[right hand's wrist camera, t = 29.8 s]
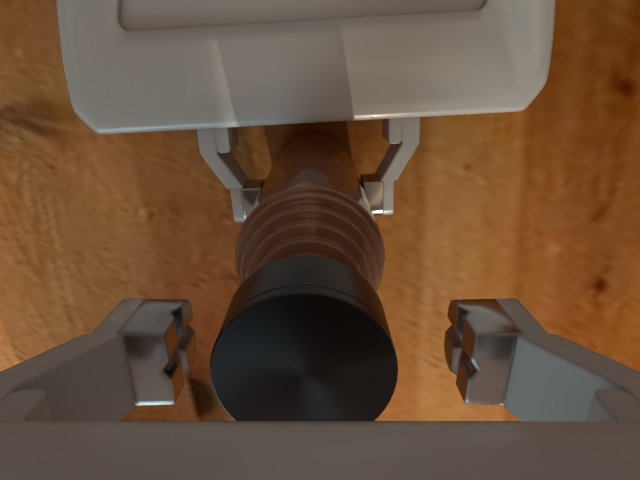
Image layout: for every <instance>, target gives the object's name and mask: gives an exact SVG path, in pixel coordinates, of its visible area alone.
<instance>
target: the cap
mask: <svg viewBox="0 0 640 480" xmlns="http://www.w3.org/2000/svg"><path fill="white" fill-rule="evenodd" d="M210 375H211V381H212V385H213V389H214V392H215V394H216V396H217V398H218V400H219V402H220V403H221V405H222V407H223V408H224V409H225V411H226V412H227V413H228V414H229V415H230V416H231V417H232V418H233V419H234V420H235V421H374V420H375V419H377V418H378V417H379V415H380V414H381V413H382V412H383V411H384V409H385V408H386V406H387V405H388V403H389V401H390V400H391V397H392V395H393V393H394V390H395V386H396V382H397V375H398V364H397V357H396V353H395V349H394V345H393V342H392V338H391V334H390V331H389V327H388V324H387V320H386V317H385V313H384V309H383V306H382V304H381V301H380V299H379V297H378V295H377V293H376V292H375V290H374V289H373V287H372V286H371V285H370V284H369V282H368V281H367V280H366V279H364V278H363V277H362V276H361V275H360V274H359V273H357V272H356V271H354V270H353V269H351V268H349V267H348V266H346V265H344V264H342V263H339V262H336V261H334V260H330V259H326V258H322V257H314V256H297V257H289V258H285V259H281V260H277V261H275V262H272V263H269V264H267V265H265V266H264V267H262V268H260V269H258V270H257V271H256V272H254V273H253V274H251V275H250V276H249V277H248V278H247V279H246V280H245V281H244V282H243V283H242V284H241V286H240V287H239V288H238V290H237V291H236V293H235V295H234V297H233V299H232V301H231V304H230V306H229V309H228V311H227V314H226V317H225V319H224V322H223V324H222V327H221V329H220V332H219V334H218V337H217V340H216V342H215V345H214V347H213V350H212V355H211V359H210Z"/></svg>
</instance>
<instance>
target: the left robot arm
mask: <svg viewBox="0 0 640 480" xmlns="http://www.w3.org/2000/svg"><path fill="white" fill-rule="evenodd" d="M56 7H57V18H58V28H59V38H60V45H61V53H62V60H63V66H64V72H65V78H66V83H67V88H68V93H69V97H70V101H71V105H72V108H73V110H74V112H75V113H76V114H77V115H78V116H79V117H80V118H81V119H82V120H83V121H84V122H85V123H86V124H87V125H88V126H89V127H90V128H91V129H92V130H93V131H94V132H96V133H98V134H118V133H136V132H154V131H172V130H190V129H196V130H197V136H198V143H199V149H200V155H201V156H202V158H203V159H204V160H205V161H206V163H207V164H208V165H209V166H210V168H211V169H212V170H213V172H214V173H215V174H216V175H217V177H218V178H219V179H220V181H221V182H222V183H223V184H224V186H225V187H226V188H227V189H230V194H231V202H232V209H233V216H234V220H235V222H244V220H245V218H246V216H247V214H248V213H249V211H250V209H251V207H252V205H253V203H254V201H255V199H256V197H257V195H258V193H259V192H260V190H261V188H262V186H263V184H264V182H265V180H249V179H248V177H247V176H246V174H245V173H244V171H243V170H242V168H241V167H240V166H239V164H238V163H237V161H236V160H235V158H234V157H233V155H232V154H231V152H230V151H231V150H232V149H233V148H234V147H236V146H237V145H238V137H237V128H236V127H245V126H263V125H281V124H300V123H318V122H336V121H354V120H372V119H382V136H383V137H384V138H385V139H386V140H387V141H388V142H390V143H391V145H390V147H389V149H388V150H387V152H386V154H385V156H384V158H383V160H382V162H381V163H380V165H379V167H378V169H377V171H376V173H374V174H361V175H360V182H361V185H362V187H363V190H364V192H365V195H366V197H367V200H368V202H369V205H370V207H371V210H372V212H373V215H390V214H393V210H394V180H397V179H398V177H399V176H400V174H401V172H402V171H403V169H404V167H405V166H406V164H407V162H408V161H409V159H410V158H411V156H412V154H413V153H414V151H415V149H416V148H417V146H418V144H419V134H420V117H427V116H445V115H463V114H481V113H499V112H517V111H522V110H524V109H526V108H527V107H528V106H529V104H530V103H531V102H532V101H533V100H534V99H535V97H536V96H537V95H538V94H539V92H540V91H541V90H542V89H543V87H544V86H545V84H546V81H547V77H548V73H549V68H550V61H551V54H552V45H553V35H554V23H555V7H556V0H56Z"/></svg>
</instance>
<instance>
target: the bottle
mask: <svg viewBox="0 0 640 480" xmlns="http://www.w3.org/2000/svg"><path fill="white" fill-rule="evenodd" d="M297 256H314V257H322V258H326V259H330V260H334V261H336V262H339V263H342V264H344V265H346V266H348V267H349V268H351V269H353V270H354V271H356V272H357V273H359V274H360V275H361V276H362V277H363V278H364V279H366V280H367V281H368V282H369V284H370V285H371V286H372V287H373V289H374V290H375V292H376V291H377V289H378V287H379V284H380V282H381V278H382V274H383V267H384V259H385V252H384V244H383V239H382V236H381V233H380V230H379V227H378V225H377V222H376V220H375V217H374V215H373V212H372V210H371V207H370V205H369V202H368V200H367V197H366V195H365V192H364V190H363V187H362V185H361V182H360V180H359V177H358V175H357V172H356V170H355V167H354V165H353V162H352V160H351V157H350V155H349V153H348V152H347V150H346V149H345V148H344V147H343V146H342V144H340V143H339V142H338V141H336V140H335V139H333V138H331V137H329V136H326V135H323V134H305V135H302V136H299V137H297V138H295V139H293V140H291V141H290V142H289V143H288V144H287V145H286V146H284V148H283V149H282V150H281V152H280V154H279V155H278V157H277V159H276V161H275V163H274V165H273V167H272V169H271V171H270V172H269V174H268V176H267V178H266V180H265V182H264V184H263V186H262V188H261V190H260V192H259V193H258V195H257V197H256V199H255V201H254V203H253V205H252V207H251V209H250V211H249V213H248V214H247V216H246V218H245V220H244V222H243V224H242V226H241V228H240V231H239V233H238V236H237V240H236V246H235V263H236V273H237V278H238V281H239V284H240V286H241V284H242V283H243V282H244V281H245V280H246V279H247V278H248V277H249V276H250V275H251V274H253V273H254V272H256V271H257V270H258V269H260V268H262V267H264V266H265V265H267V264H269V263H272V262H275V261H277V260H281V259H285V258H289V257H297Z"/></svg>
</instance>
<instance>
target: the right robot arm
mask: <svg viewBox="0 0 640 480" xmlns="http://www.w3.org/2000/svg"><path fill="white" fill-rule="evenodd" d="M192 316H193V315H192V309H191V304H190V302H189V301H188V300H180V299H145V298H143V299H123V300H122V301H121V302H120V303H119V304H118V305H117V306H116V308H115V309H114V310H113V311H112V312H111V313H110V314H109V315H108V316H107V317H106V319H105V320H104V321H103V322H102V323H101V324H100V325H99V326H98V327H97V328H96V330H95V331H94V332H93V333H92V334H91V335H82V336H80V337H78V338H76V339H73V340H71V341H69V342H67V343H64V344H62V345H60V346H58V347H55V348H53V349H51V350H49V351H46V352H44V353H42V354H40V355H37V356H35V357H33V358H31V359H28V360H26V361H24V362H22V363H19V364H17V365H15V366H13V367H10V368H8V369H6V370H3V371H1V372H0V480H640V372H639V371H636V370H634V369H632V368H630V367H627V366H625V365H623V364H621V363H618V362H616V361H614V360H612V359H609V358H607V357H605V356H603V355H600V354H598V353H596V352H594V351H591V350H589V349H587V348H585V347H582V346H580V345H578V344H576V343H573V342H571V341H569V340H567V339H564V338H562V337H560V336H558V335H549V334H548V333H547V332H546V331H545V330H544V328H543V327H542V326H541V325H540V324H539V323H538V322H537V321H536V320H535V319H534V317H533V316H532V315H531V314H530V313H529V312H528V311H527V310H526V309H525V308H524V306H523V305H522V304H521V303H520V302H519V301H518V300H516V299H513V298H510V299H468V300H452V301H451V302H450V304H449V308H448V315H447V316H448V318H449V320H450V322H451V324H452V325H451V326H450V327H449V329H448V330H447V331H446V332H445V341H444V348H445V357H446V361H447V365H448V367H449V369H450V371H451V372H453V373H454V374H456V375H457V379H456V385H457V387H458V389H459V392H460V394H461V396H462V398H463V400H464V403H465V404H471V405H504V408H505V409H507V410H508V411H509V412H510V413H512V414H513V415H514V416H515V417H516V418H518V419H519V420H520V421H120V420H121V419H122V418H124V417H125V416H126V415H127V414H129V413H130V412H131V411H132V410H133V409H135V408H136V405H168V404H175V403H176V400H177V398H178V396H179V394H180V392H181V389H182V387H183V385H184V379H183V375H184V374H186V373H187V372H189V371H190V369H191V367H192V364H193V362H194V356H195V351H196V339H195V332H194V331H193V330H192V329H191V327H190V326H189V325H188V324H189V322H190V320H191V318H192Z"/></svg>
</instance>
